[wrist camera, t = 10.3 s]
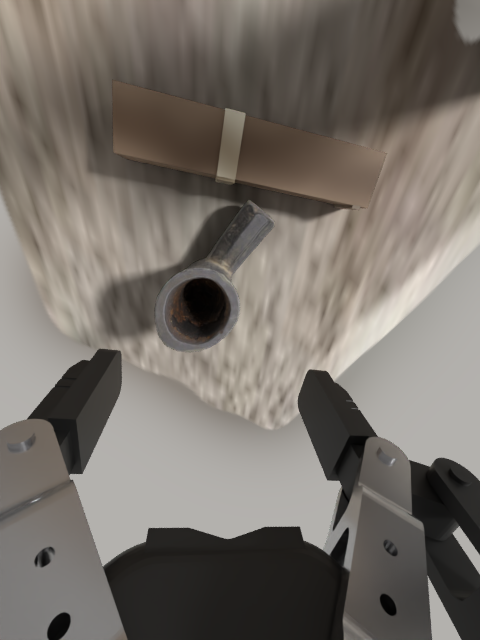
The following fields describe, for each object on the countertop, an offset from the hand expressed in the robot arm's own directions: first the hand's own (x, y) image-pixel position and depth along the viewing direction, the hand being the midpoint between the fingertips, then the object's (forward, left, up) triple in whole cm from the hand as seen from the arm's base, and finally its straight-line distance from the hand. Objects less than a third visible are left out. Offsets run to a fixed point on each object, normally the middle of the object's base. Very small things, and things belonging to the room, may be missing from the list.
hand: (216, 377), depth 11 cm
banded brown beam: (-11, +2, -17) cm, 20 cm away
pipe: (-1, 0, -17) cm, 17 cm away
